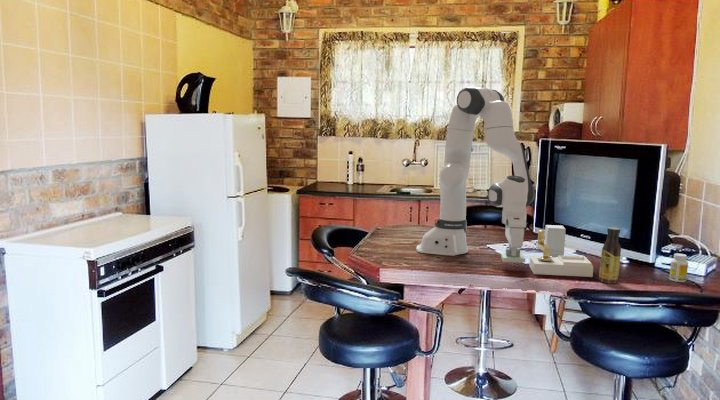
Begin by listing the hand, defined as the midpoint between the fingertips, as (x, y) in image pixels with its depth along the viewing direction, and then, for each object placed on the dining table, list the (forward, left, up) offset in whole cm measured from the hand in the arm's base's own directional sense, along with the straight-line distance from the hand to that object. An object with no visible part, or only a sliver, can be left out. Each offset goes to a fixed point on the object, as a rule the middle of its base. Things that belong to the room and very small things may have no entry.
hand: (512, 254), depth 210 cm
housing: (+18, +1, -6) cm, 19 cm away
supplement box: (+20, +26, -6) cm, 34 cm away
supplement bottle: (+58, -3, -6) cm, 59 cm away
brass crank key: (+12, +4, -2) cm, 13 cm away
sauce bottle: (+32, -10, -6) cm, 35 cm away
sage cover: (0, 0, -2) cm, 2 cm away
